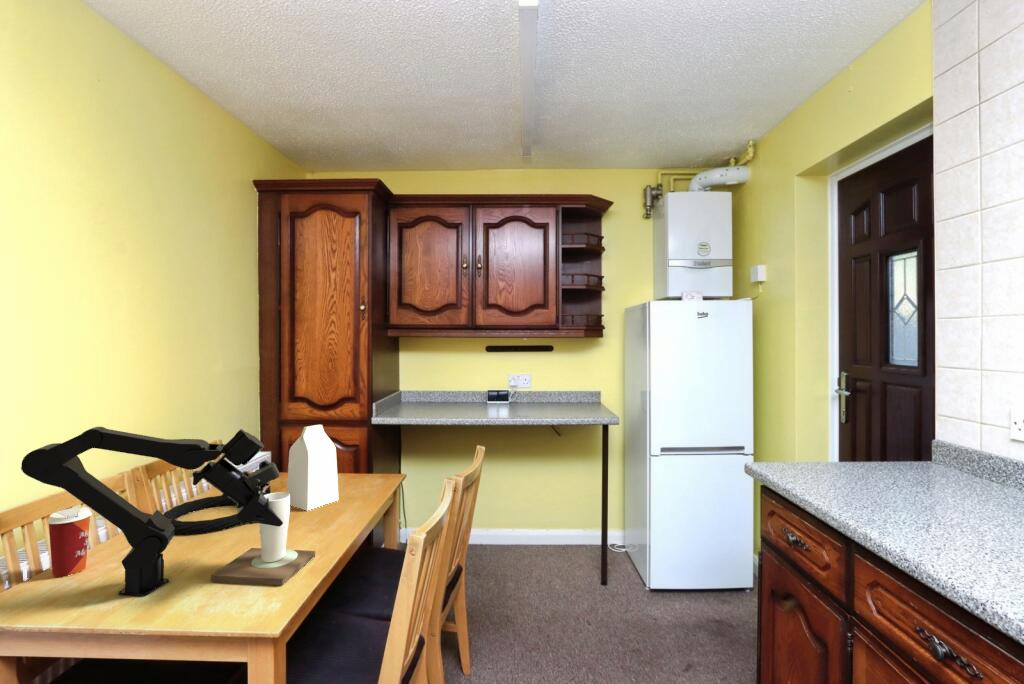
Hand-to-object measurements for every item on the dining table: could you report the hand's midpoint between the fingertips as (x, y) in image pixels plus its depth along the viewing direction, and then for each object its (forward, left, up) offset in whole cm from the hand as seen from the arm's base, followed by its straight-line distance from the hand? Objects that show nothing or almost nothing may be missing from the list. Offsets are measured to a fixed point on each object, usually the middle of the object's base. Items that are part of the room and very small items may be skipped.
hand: (282, 519), depth 113 cm
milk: (+42, +15, -11) cm, 46 cm away
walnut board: (-3, +2, -11) cm, 11 cm away
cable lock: (+26, +37, -11) cm, 47 cm away
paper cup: (-9, +47, -11) cm, 49 cm away
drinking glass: (-1, +2, -9) cm, 9 cm away
